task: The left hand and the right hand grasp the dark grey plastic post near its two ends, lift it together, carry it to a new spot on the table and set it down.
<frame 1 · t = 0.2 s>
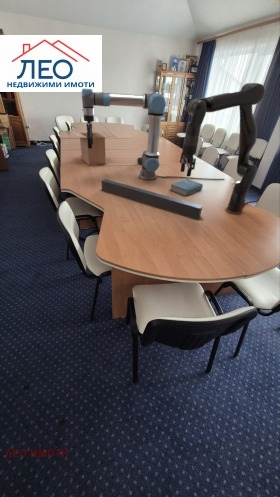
left hand: (90, 146, 173), 28 cm above the table, tool pointing down, fingers open, 13 cm apart
right hand: (185, 173, 129), 29 cm above the table, tool pointing down, fingers open, 8 cm apart
post: (146, 202, 161), on the table
box: (93, 161, 237), on the table
laser sight: (147, 164, 239), on the table
book: (186, 190, 185), on the table
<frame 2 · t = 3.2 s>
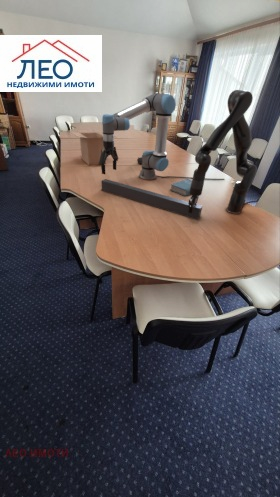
left hand: (109, 171, 165), 15 cm above the table, tool pointing down, fingers open, 13 cm apart
right hand: (191, 211, 147), 3 cm above the table, tool pointing down, fingers closed on post, 5 cm apart
post: (146, 202, 161), on the table, touching right hand
everything else where it was.
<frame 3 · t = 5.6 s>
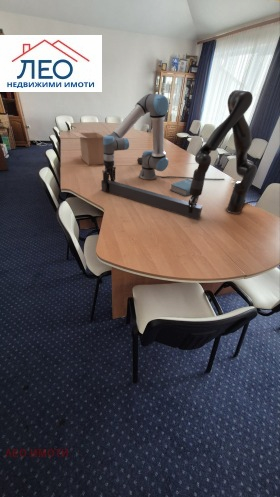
left hand: (109, 190, 174), 1 cm above the table, tool pointing down, fingers closed on post, 5 cm apart
right hand: (191, 211, 147), 3 cm above the table, tool pointing down, fingers closed on post, 5 cm apart
post: (146, 202, 161), on the table, touching left hand, right hand
everything else where it was.
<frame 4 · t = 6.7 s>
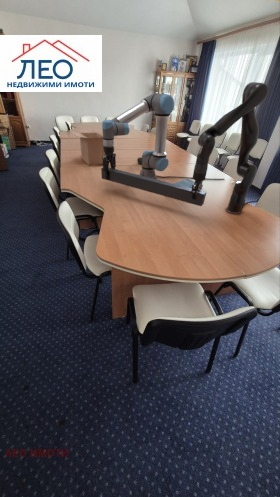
left hand: (110, 178, 168), 10 cm above the table, tool pointing down, fingers closed on post, 5 cm apart
right hand: (194, 197, 141), 13 cm above the table, tool pointing down, fingers closed on post, 5 cm apart
post: (148, 190, 156), point 9 cm above the table, touching left hand, right hand
everything else where it was.
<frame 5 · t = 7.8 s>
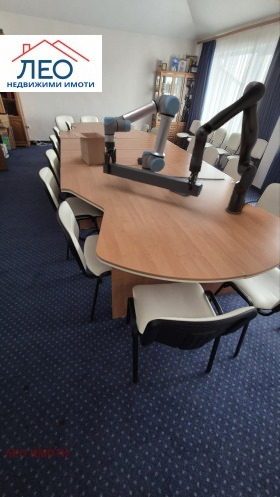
left hand: (110, 172, 177), 11 cm above the table, tool pointing down, fingers closed on post, 5 cm apart
right hand: (191, 189, 150), 14 cm above the table, tool pointing down, fingers closed on post, 5 cm apart
post: (147, 182, 165), point 10 cm above the table, touching left hand, right hand
everything else where it was.
when the left hand's fingers open (2 cm above the table, at t = 10.3 s): post stays where it is, on the table.
when the right hand's fingers open (4 cm above the table, at t = 10.5 s): post stays where it is, on the table.
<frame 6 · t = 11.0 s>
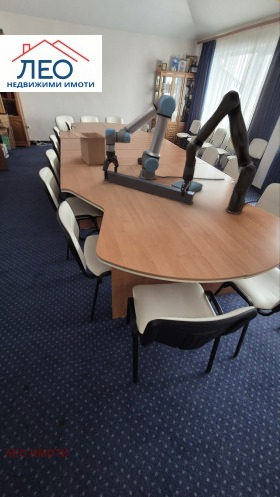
left hand: (111, 176, 190), 4 cm above the table, tool pointing down, fingers open, 13 cm apart
right hand: (184, 194, 163), 5 cm above the table, tool pointing down, fingers open, 8 cm apart
post: (145, 190, 179), on the table
everything else where it was.
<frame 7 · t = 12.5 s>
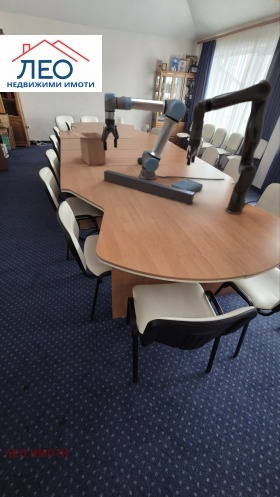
left hand: (110, 149, 176), 26 cm above the table, tool pointing down, fingers open, 13 cm apart
right hand: (190, 163, 150), 28 cm above the table, tool pointing down, fingers open, 8 cm apart
nothing on the table moved.
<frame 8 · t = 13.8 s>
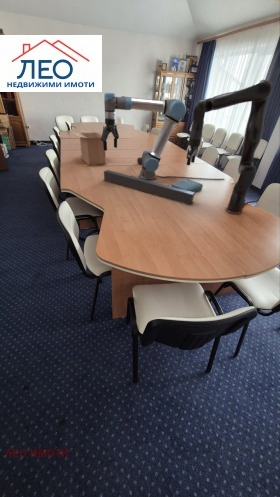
left hand: (110, 148, 176), 26 cm above the table, tool pointing down, fingers open, 13 cm apart
right hand: (190, 163, 150), 28 cm above the table, tool pointing down, fingers open, 8 cm apart
nothing on the table moved.
at the end: post inside the target area (0.4 cm from its centre), on the table; post tilted 0°; post never tilted more than 2° during the clip; both hands held the post at the same time; the left hand is holding nothing; the right hand is holding nothing; post at rest at the end (0.0 cm/s) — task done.
